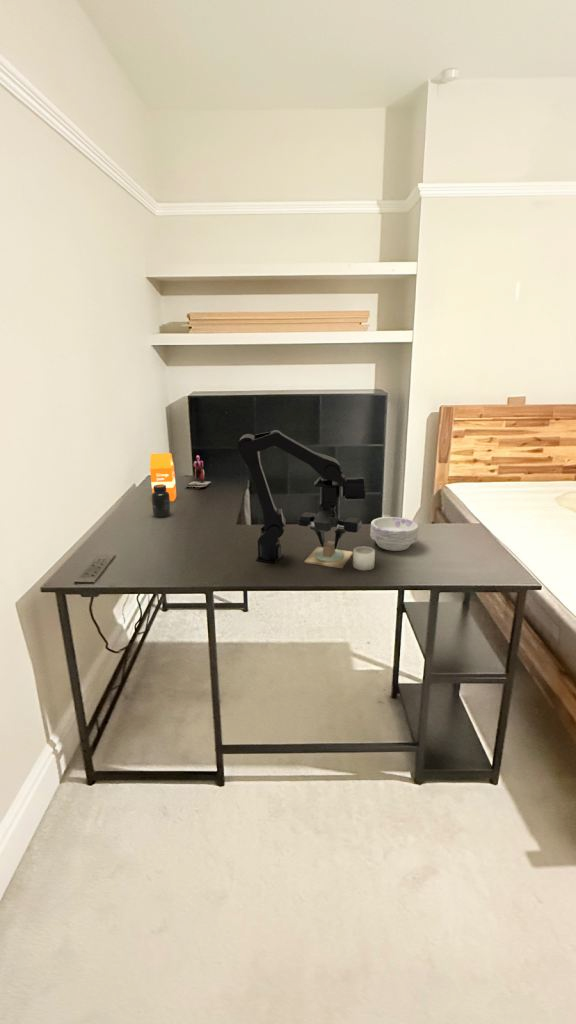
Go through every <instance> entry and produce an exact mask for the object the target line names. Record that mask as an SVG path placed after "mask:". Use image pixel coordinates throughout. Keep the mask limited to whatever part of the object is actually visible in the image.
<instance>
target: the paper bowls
mask: <svg viewBox="0 0 576 1024" xmlns="http://www.w3.org/2000/svg"><path fill="white" fill-rule="evenodd" d="M369 532H370V535H369V536H370V538H371V539H372V541H375V542H376V544H377V546H378V547H379V548H381V549H383V550H386V551H391V552H392V551H393V552H398V551H404V550H407V549H408V548H409V547H410V546H411V545H413V544H416V542H417V541H418V536H419V535H418V534H419V533H418V532H419V524H418V523H417V522H415V521H413V520H411V519H408V518H404V517H398V516H384V517H383V516H382V517H377V518H374V519H373V520H371V522H370V531H369Z"/></svg>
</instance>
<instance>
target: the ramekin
mask: <svg viewBox="0 0 576 1024" xmlns="http://www.w3.org/2000/svg"><path fill="white" fill-rule="evenodd" d="M352 552H353V554H352V567H353V568H354V569H356V570H358V571H369V570H371V571H372V570H373V569H374V568H375V559H376V557H375V556H376V550H375V548H373V547H370V546H365V545H364V546H356V547H354V548H353V551H352Z"/></svg>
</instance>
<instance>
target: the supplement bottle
mask: <svg viewBox="0 0 576 1024" xmlns="http://www.w3.org/2000/svg"><path fill="white" fill-rule="evenodd" d="M153 488H154V493H151V503H152V505H151V507H152V515H153V516H154V518H162V519H163V518H167V517H170V516H171V515H172V510H171V501H170V496H169V493H168V492H167V491H166V490H167V489H166V485H164V484H158V485H154V486H153Z"/></svg>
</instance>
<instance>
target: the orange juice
mask: <svg viewBox="0 0 576 1024" xmlns="http://www.w3.org/2000/svg"><path fill="white" fill-rule="evenodd" d="M149 464H150V465H149V467H150V468H149V472H150V473H149V474H150V481H151V491H152V493H154V488H153V486H154V485H158V484H164V485H166V489H167V490H166V491H167V492H168V493H169V496H170V502H174V501H175V500H176V498H177V488H176V474H175V464H174V460H173V456H172V453H171V452H164V453H163V452H162V453H160V452H159V453H150V461H149ZM152 493H151V494H152Z"/></svg>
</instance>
